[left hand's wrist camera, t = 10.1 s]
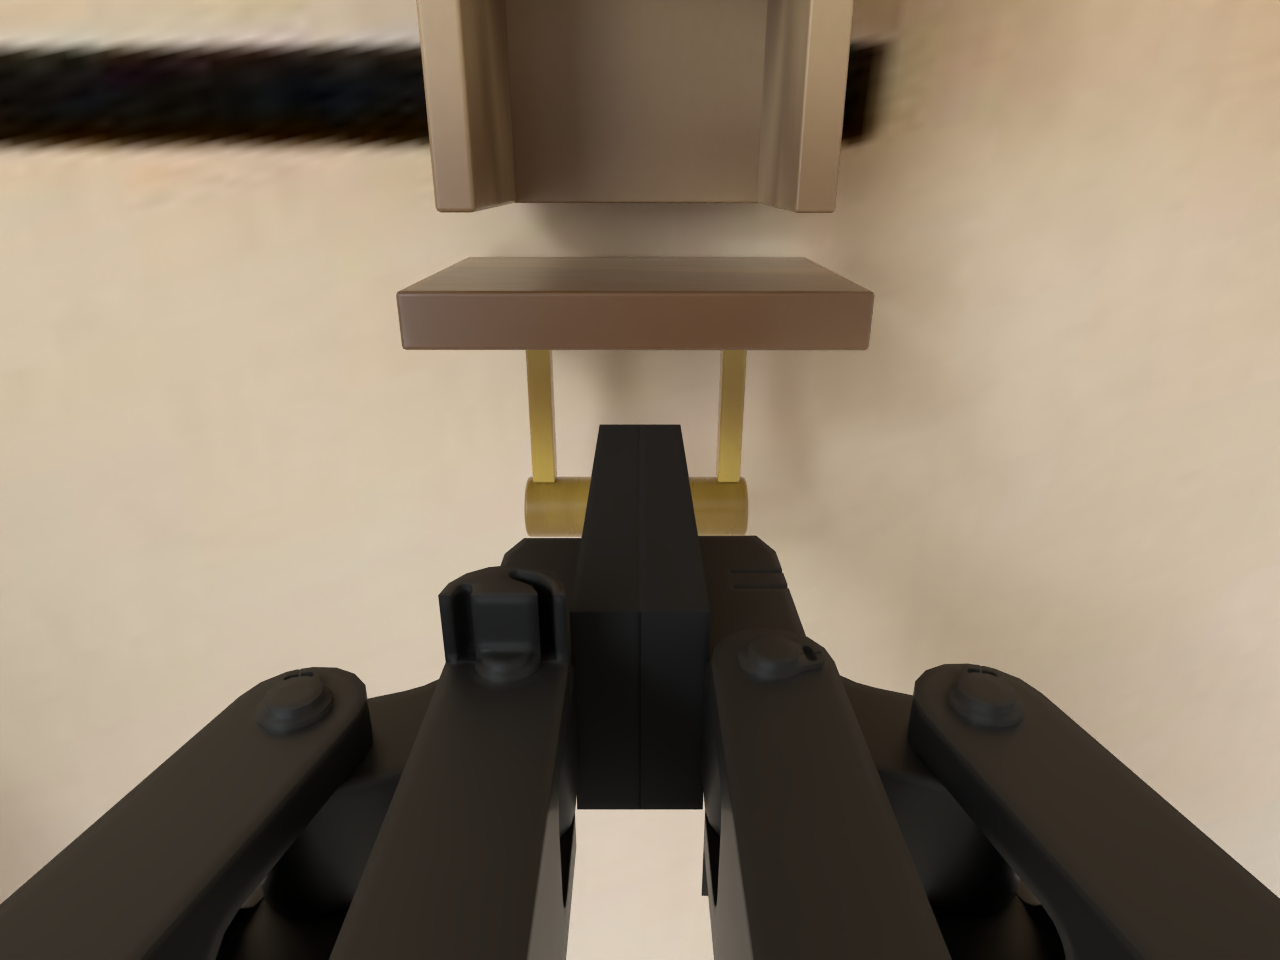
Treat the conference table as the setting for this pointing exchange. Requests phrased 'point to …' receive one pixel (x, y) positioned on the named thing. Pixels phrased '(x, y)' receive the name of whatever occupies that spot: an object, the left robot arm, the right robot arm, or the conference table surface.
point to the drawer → (635, 195)
